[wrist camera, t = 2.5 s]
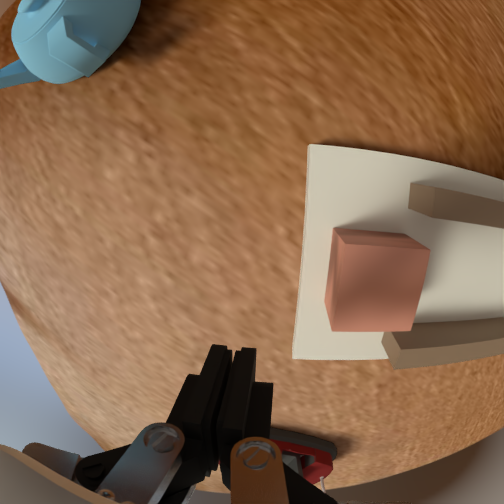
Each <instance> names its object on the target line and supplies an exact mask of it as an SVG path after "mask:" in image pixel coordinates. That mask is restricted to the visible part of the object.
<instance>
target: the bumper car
mask: <svg viewBox="0 0 504 504" xmlns="http://www.w3.org/2000/svg"><path fill="white" fill-rule="evenodd" d="M269 440H271V441H272V442H274V443H275V444H276V445H277V446H278V447H279V449H280V452H281V456H282V461H283V462H284V463H285V464H286V465H288V466H289V467H290V468H291V469H293V470H294V471H295V472H297V473H298V474H299V475H300V476H302V477H303V478H305V479H306V480H307V481H309V482H310V483H311V484H315V483H317V482H319V481H321V487H322V491H323V492H324V493H326V492H325V487H324V482H323V479H324V478H326V477H327V476H328V475H329V474H330V473H331V471H332V470H333V463H332V461H333V460H334V459H335V457H336V455H337V450H336V447H335V446H334V444H333V443H331V442H328V441H325V440H322V439H319V438H316V437H313V436H308V435H304V434H300V433H296V432H292V431H287V430H281V429H276V428H271V427H270V438H269ZM219 464H220V462H219Z"/></svg>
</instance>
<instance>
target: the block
mask: <svg viewBox="0 0 504 504" xmlns="http://www.w3.org/2000/svg"><path fill="white" fill-rule="evenodd" d="M430 251H431V250H430V249H428V248H427V247H425V246H424V245H422V244H421V243H419V242H417V241H416V240H414V239H413V238H411V237H409V236H408V235H406V234H403V233H392V232H380V231H368V230H355V229H342V228H333V231H332V241H331V251H330V260H329V268H328V276H327V284H326V291H325V298H324V303H325V307H326V311H327V314H328V318H329V322H330V326H331V330H332V332H395V331H411V328H412V325H413V321H414V318H415V315H416V311H417V307H418V304H419V300H420V296H421V292H422V288H423V284H424V280H425V275H426V271H427V266H428V261H429V256H430Z"/></svg>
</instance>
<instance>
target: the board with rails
mask: <svg viewBox="0 0 504 504" xmlns="http://www.w3.org/2000/svg"><path fill="white" fill-rule="evenodd" d="M333 228H342V229H355V230H368V231H380V232H392V233H403V234H406V235H408V236H409V237H411V238H413V239H414V240H416V241H417V242H419V243H421V244H422V245H424V246H425V247H427V248H428V249H430V250H431V251H430V256H429V261H428V266H427V271H426V275H425V280H424V284H423V288H422V292H421V296H420V300H419V304H418V307H417V311H416V315H415V318H414V321H413V325H412V328H411V331H395V332H332V330H331V326H330V322H329V318H328V314H327V311H326V307H325V303H324V298H325V291H326V284H327V276H328V268H329V260H330V251H331V241H332V231H333ZM499 354H504V180H501V179H498V178H494V177H491V176H488V175H484V174H481V173H477V172H474V171H470V170H466V169H463V168H459V167H455V166H451V165H446V164H442V163H438V162H433V161H428V160H424V159H419V158H413V157H408V156H403V155H397V154H391V153H384V152H378V151H371V150H364V149H356V148H347V147H338V146H328V145H317V144H310V145H309V146H308V156H307V181H306V200H305V217H304V232H303V245H302V257H301V269H300V280H299V290H298V300H297V310H296V319H295V328H294V336H293V344H292V359H312V360H368V359H389V360H390V362H391V365H392V367H393V369H406V368H417V367H427V366H435V365H443V364H450V363H457V362H463V361H469V360H475V359H480V358H485V357H490V356H495V355H499Z"/></svg>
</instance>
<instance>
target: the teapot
mask: <svg viewBox="0 0 504 504" xmlns="http://www.w3.org/2000/svg"><path fill="white" fill-rule="evenodd" d="M140 3H141V0H22V1H21V3H20V5H19V7H18V14H17V16H16V18H15V21H14V24H13V27H12V41H13V44H14V47H15V49H16V51H17V53H18V55H19V57H20V59H19V60H17V61H15V62H13V63H11V64H9V65H7V66H6V67H4V68H2V69H0V89H1V88H5V87H10V86H14V85H19V84H24V83H29V82H35V81H40V80H41V79H42V80H44V81H47V82H50V83H55V84H62V83H67V82H71V81H74V80H76V79H79V78H81V77H82V76H84V75H85V76H86V77H89V76H90V75H91V74H92V73H93V72H94V71H96V70H97V69H98V68H99V67H100V66H101V65H102V64H103V63H104V62H105V61H106V59H107V58H108V57H110V56H111V55H112V54H113V53H114V52H115V51H116V49H117V48H118V47H119V46H120V45H121V43H122V42H123V41H124V40H125V38H126V37H127V35H128V33H129V32H130V30H131V28H132V26H133V24H134V22H135V20H136V17H137V15H138V11H139V8H140Z"/></svg>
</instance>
